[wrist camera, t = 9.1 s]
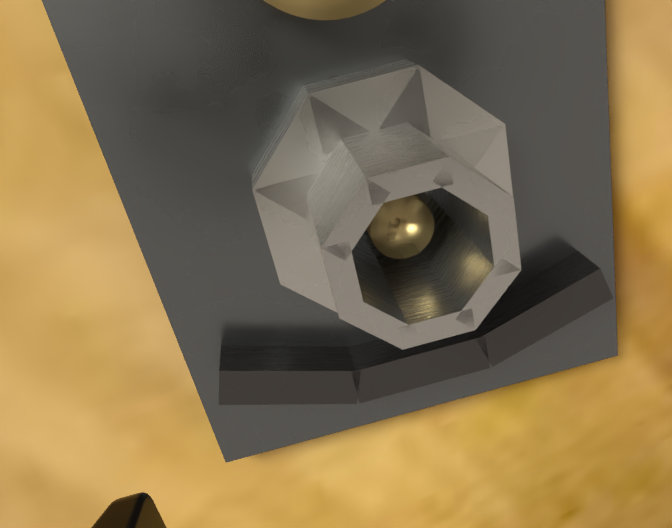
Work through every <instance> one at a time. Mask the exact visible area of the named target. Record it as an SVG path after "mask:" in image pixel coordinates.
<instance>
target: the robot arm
mask: <svg viewBox="0 0 672 528" xmlns="http://www.w3.org/2000/svg"><path fill="white" fill-rule="evenodd" d="M92 528H166V526H165V524H164V522H163V520H162V518H161V516H160V514H159V512H158V510H157V508H156V506H155V504H154V502H153V500H152V498H151V497H150V496H149V495H148V494H147V493H143V492H142V493H137V494H134V495H130V496H127V497H123V498H119V499H117V500H115V501H113V502H112V503H111V504H110V505H109V506H108V508H107V509H106V510H105V511H104V513H103V514H102V515H101V516H100V518H99V519H98V520H97V521H96V523H95V524H94V525H93V526H92Z"/></svg>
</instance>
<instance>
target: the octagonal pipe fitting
mask: <svg viewBox="0 0 672 528" xmlns="http://www.w3.org/2000/svg"><path fill="white" fill-rule="evenodd" d="M430 190H431V192H432V199H431V201H430V202H429V204H428V205H427V207H428V208H429V210H430V211H431V213H432V215H433V219H434V232H433V236H432V238H431V240H430V242H429V243H428V245H427V246H426V247H425V248H424V249H423V250H422V251H421V252H419V253H418V254H416V255H414V256H411V257H408V258H403V259H396V258H391V257H388V256H386V255H384V254H382V253H381V252H380V251H379V250H378V249H377V248H376V247H375V245H374V244H373V242H371V243H368V242H366V241H364V240H362V239H360V238H361V236H362V235H363V233H364V232H365V230H366V229H367V227H368V226H369V224H370V223H371V221H372V220H373V218H374V217H375V215H376V214H377V212H378V211H379V209H380V207H381V206H382V204H383V203H384V202H388V201H392V200H396V199H399V198H403V197H407V196H411V195H415V194H418V193H422V192H426V191H430ZM252 191H253V194H254V198H255V201H256V204H257V208H258V211H259V214H260V218H261V221H262V224H263V228H264V231H265V234H266V238H267V241H268V245H269V248H270V251H271V255H272V258H273V261H274V265H275V268H276V271H277V275H278V278H279V281H280V284H281V285H283V286H285V287H287V288H289V289H291V290H293V291H295V292H297V293H299V294H301V295H303V296H305V297H307V298H309V299H311V300H313V301H315V302H317V303H319V304H321V305H323V306H325V307H327V308H329V309H331V310H333V311H335V312H337V313H338V315H339V318H340V319H342V320H344V321H346V322H348V323H350V324H352V325H354V326H356V327H358V328H360V329H362V330H364V331H366V332H368V333H370V334H372V335H374V336H376V337H378V338H380V339H382V340H384V341H386V342H388V343H390V344H392V345H394V346H396V347H398V348H400V349H402V350H403V349H407V348H411V347H415V346H418V345H422V344H426V343H429V342H433V341H437V340H441V339H444V338H448V337H452V336H455V335H459V334H463V333H467V332H470V331H474V330H476V329H477V327H478V326H479V325H480V323H481V322H482V321H483V320H484V318H485V317H486V316H487V314H488V313H489V312H490V310H491V309H492V308H493V306H494V305H495V304H496V302H497V301H498V300H499V299H500V297H501V296H502V295H503V293H504V292H505V291H506V289H507V288H508V287H509V285H510V284H511V283H512V282H513V280H514V279H515V278H516V276H517V275H518V274H519V272H520V271H521V261H520V251H519V242H518V233H517V224H516V214H515V205H514V197H513V191H512V182H511V173H510V163H509V154H508V145H507V136H506V126H505V124H504V123H503V122H502V121H500V120H499V119H497V118H496V117H494V116H493V115H491V114H490V113H488V112H487V111H485V110H484V109H483V108H481V107H480V106H478V105H477V104H475V103H474V102H472V101H471V100H469V99H468V98H466V97H465V96H463V95H462V94H461V93H459V92H458V91H456V90H455V89H453V88H452V87H450V86H449V85H447V84H446V83H444V82H443V81H442V80H440V79H439V78H437V77H436V76H434V75H433V74H431V73H430V72H428V71H427V70H425V69H424V68H422V67H421V66H420V65H417V64H415V63H413V62H410V61H408V60H402V61H398V62H394V63H390V64H386V65H382V66H378V67H375V68H371V69H367V70H363V71H359V72H355V73H351V74H347V75H343V76H339V77H335V78H331V79H328V80H324V81H320V82H316V83H312V84H308V85H304V86H303V88H302V89H301V91H300V93H299V95H298V96H297V98H296V100H295V101H294V103H293V105H292V107H291V108H290V110H289V112H288V113H287V115H286V117H285V119H284V120H283V122H282V124H281V126H280V127H279V129H278V131H277V132H276V134H275V136H274V138H273V139H272V141H271V143H270V144H269V146H268V148H267V150H266V151H265V153H264V155H263V156H262V158H261V160H260V162H259V163H258V165H257V167H256V169H255V170H254V172H253V174H252Z"/></svg>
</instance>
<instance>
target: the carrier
mask: <svg viewBox="0 0 672 528" xmlns="http://www.w3.org/2000/svg"><path fill="white" fill-rule="evenodd" d="M42 2H43V4H44V7H45V9H46V12H47V14H48V17H49V20H50V22H51V25H52V27H53V30H54V32H55V35H56V37H57V40H58V42H59V45H60V47H61V50H62V52H63V55H64V57H65V60H66V62H67V65H68V67H69V70H70V72H71V75H72V77H73V80H74V82H75V85H76V87H77V90H78V92H79V95H80V97H81V100H82V102H83V105H84V107H85V110H86V112H87V115H88V117H89V120H90V122H91V125H92V127H93V130H94V133H95V135H96V138H97V140H98V143H99V145H100V148H101V150H102V153H103V155H104V158H105V160H106V163H107V165H108V168H109V170H110V173H111V175H112V178H113V180H114V183H115V185H116V188H117V190H118V193H119V195H120V198H121V200H122V203H123V205H124V208H125V210H126V213H127V215H128V218H129V220H130V223H131V225H132V228H133V230H134V233H135V235H136V238H137V240H138V243H139V246H140V248H141V251H142V253H143V256H144V258H145V261H146V263H147V266H148V268H149V271H150V273H151V276H152V278H153V281H154V283H155V286H156V288H157V291H158V293H159V296H160V298H161V301H162V303H163V306H164V308H165V311H166V313H167V316H168V318H169V321H170V323H171V326H172V328H173V331H174V333H175V336H176V338H177V341H178V343H179V346H180V348H181V351H182V353H183V356H184V359H185V361H186V364H187V366H188V369H189V371H190V374H191V376H192V379H193V381H194V384H195V386H196V389H197V391H198V394H199V396H200V399H201V401H202V404H203V406H204V409H205V411H206V414H207V416H208V419H209V421H210V424H211V426H212V429H213V431H214V434H215V436H216V439H217V441H218V444H219V446H220V449H221V451H222V454H223V456H224V459H225V461H226V462H230V461H233V460H237V459H241V458H244V457H248V456H252V455H255V454H259V453H263V452H266V451H270V450H274V449H277V448H281V447H285V446H288V445H292V444H296V443H299V442H303V441H307V440H310V439H314V438H318V437H321V436H325V435H329V434H332V433H336V432H340V431H343V430H347V429H351V428H354V427H358V426H361V425H365V424H369V423H372V422H376V421H380V420H383V419H387V418H391V417H394V416H398V415H402V414H405V413H409V412H413V411H416V410H420V409H424V408H427V407H431V406H435V405H438V404H442V403H446V402H449V401H453V400H457V399H460V398H464V397H468V396H471V395H475V394H479V393H482V392H486V391H490V390H493V389H497V388H501V387H504V386H508V385H511V384H515V383H519V382H522V381H526V380H530V379H533V378H537V377H541V376H544V375H548V374H552V373H555V372H559V371H563V370H566V369H570V368H574V367H577V366H581V365H585V364H588V363H592V362H596V361H599V360H603V359H607V358H610V357H614V356H618V350H617V323H616V295H615V268H614V241H613V214H612V187H611V159H610V132H609V105H608V78H607V51H606V23H605V0H42ZM402 60H408V61H410V62H413V63H415V64H417V65H420V66H421V67H422V68H424V69H425V70H427V71H428V72H430V73H431V74H433V75H434V76H436V77H437V78H439V79H440V80H442V81H443V82H444V83H446V84H447V85H449V86H450V87H452V88H453V89H455V90H456V91H458V92H459V93H461V94H462V95H463V96H465V97H466V98H468V99H469V100H471V101H472V102H474V103H475V104H477V105H478V106H480V107H481V108H483V109H484V110H485V111H487V112H488V113H490V114H491V115H493V116H494V117H496V118H497V119H499V120H500V121H502V122H503V123H504V124H505V126H506V136H507V145H508V154H509V163H510V173H511V182H512V191H513V197H514V205H515V214H516V224H517V233H518V242H519V251H520V261H521V271H520V272H519V274H518V275H517V276H516V278H515V279H514V280H513V282H512V283H511V284H510V285H509V287H508V288H507V289H506V291H505V292H504V293H503V295H502V296H501V297H500V299H499V300H498V301H497V302H496V304H495V305H494V306H493V308H492V309H491V310H490V312H489V313H488V314H487V316H486V317H485V318H484V320H483V321H482V322H481V323H480V325H479V326H478V327H477V329H476V330H474V331H470V332H467V333H463V334H459V335H455V336H452V337H448V338H444V339H441V340H437V341H433V342H429V343H426V344H422V345H418V346H415V347H411V348H407V349H403V350H402V349H400V348H398V347H396V346H394V345H392V344H390V343H388V342H386V341H384V340H382V339H380V338H378V337H376V336H374V335H372V334H370V333H368V332H366V331H364V330H362V329H360V328H358V327H356V326H354V325H352V324H350V323H348V322H346V321H344V320H342V319H340V318H339V315H338V313H337V312H335V311H333V310H331V309H329V308H327V307H325V306H323V305H321V304H319V303H317V302H315V301H313V300H311V299H309V298H307V297H305V296H303V295H301V294H299V293H297V292H295V291H293V290H291V289H289V288H287V287H285V286H283V285H281V284H280V281H279V278H278V275H277V271H276V268H275V265H274V261H273V258H272V255H271V251H270V248H269V245H268V241H267V238H266V234H265V231H264V228H263V224H262V221H261V218H260V214H259V211H258V208H257V204H256V201H255V198H254V194H253V191H252V174H253V172H254V170H255V169H256V167H257V165H258V163H259V162H260V160H261V158H262V156H263V155H264V153H265V151H266V150H267V148H268V146H269V144H270V143H271V141H272V139H273V138H274V136H275V134H276V132H277V131H278V129H279V127H280V126H281V124H282V122H283V120H284V119H285V117H286V115H287V113H288V112H289V110H290V108H291V107H292V105H293V103H294V101H295V100H296V98H297V96H298V95H299V93H300V91H301V89H302V88H303V86H304V85H308V84H312V83H316V82H320V81H324V80H328V79H331V78H335V77H339V76H343V75H347V74H351V73H355V72H359V71H363V70H367V69H371V68H375V67H378V66H382V65H386V64H390V63H394V62H398V61H402ZM431 199H432V192H431V190H430V191H426V192H422V193H418V194H415V195H411V196H407V197H403V198H399V199H396V200H392V201H388V202H384V203H383V204H382V206H381V207H380V209H379V211H378V212H377V214H376V215H375V217H374V218H373V220H372V221H371V223H370V224H369V226H368V227H367V229H366V230H365V232H364V233H363V235H362V236H361V238H360V239H362V240H364V241H366V242H368V243H371V242H373V244H374V245H375V247H376V248H377V249H378V250H379V251H380V252H381V253H382V254H384V255H386V256H388V257H391V258H396V259H403V258H408V257H411V256H414V255H416V254H418V253H419V252H421V251H422V250H423V249H424V248H425V247H426V246H427V245H428V243H429V242H430V240H431V238H432V236H433V232H434V219H433V215H432V213H431V211H430V210H429V208H428V207H427V205H428V204H429V202H430V201H431Z"/></svg>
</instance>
